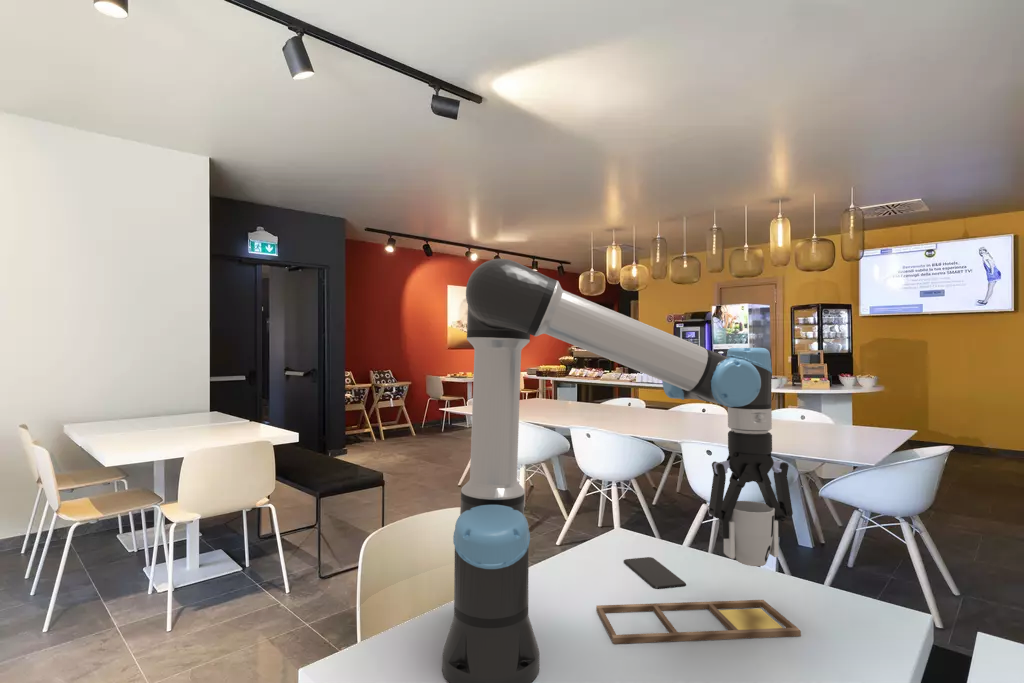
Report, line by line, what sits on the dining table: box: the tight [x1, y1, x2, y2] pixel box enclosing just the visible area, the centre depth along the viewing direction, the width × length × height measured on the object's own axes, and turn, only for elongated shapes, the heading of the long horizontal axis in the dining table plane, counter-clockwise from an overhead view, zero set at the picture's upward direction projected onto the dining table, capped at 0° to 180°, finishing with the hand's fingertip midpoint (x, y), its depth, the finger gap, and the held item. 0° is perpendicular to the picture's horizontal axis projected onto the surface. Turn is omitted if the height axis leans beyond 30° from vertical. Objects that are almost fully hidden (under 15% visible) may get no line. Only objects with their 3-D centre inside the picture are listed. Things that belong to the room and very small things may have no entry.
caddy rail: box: [595, 599, 802, 645], centre depth 100 cm, size 33×12×1 cm, turn 95°
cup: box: [730, 500, 775, 567], centre depth 101 cm, size 8×8×10 cm
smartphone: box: [623, 556, 687, 590], centre depth 123 cm, size 8×1×16 cm
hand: (750, 554), depth 101 cm, fingers closed on cup, 8 cm apart
